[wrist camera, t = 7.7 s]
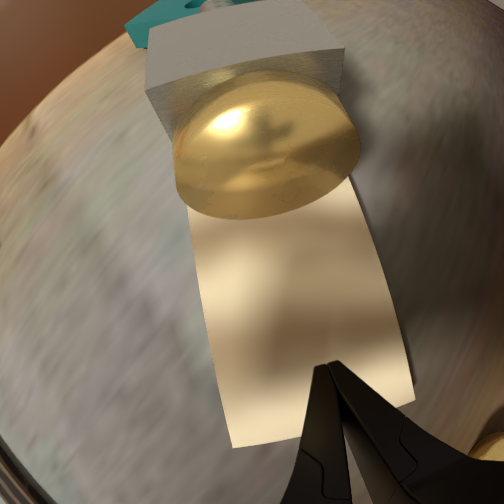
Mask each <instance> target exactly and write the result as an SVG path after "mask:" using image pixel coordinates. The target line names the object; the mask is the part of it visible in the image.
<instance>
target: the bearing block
mask: <svg viewBox="0 0 504 504" xmlns="http://www.w3.org/2000/svg"><path fill="white" fill-rule="evenodd" d="M344 51H345V48H344V47H343V45H342V44H341V43H340V42H339V41H338V39H337V38H336V37H335V36H334V35H333V34H332V32H331V31H330V30H329V29H328V28H327V27H326V26H325V25H324V23H323V22H322V21H321V20H320V19H319V18H318V17H317V16H316V15H315V14H314V13H313V12H312V11H311V10H310V9H309V8H308V7H307V6H306V4H305V3H304V2H303V1H302V0H262V1H256V2H249V3H244V4H238V5H233V6H228V7H223V8H219V9H214V10H210V11H206V12H202V13H198V14H194V15H191V16H187V17H184V18H180V19H177V20H174V21H171V22H167V23H164V24H161V25H158V26H155V27H153V28H150V29H149V38H148V48H147V60H146V74H145V92H146V94H147V96H148V98H149V100H150V102H151V104H152V106H153V108H154V110H155V111H156V113H157V115H158V117H159V119H160V121H161V123H162V125H163V127H164V128H165V130H166V132H167V134H168V136H169V138H170V140H171V142H172V140H173V135H174V131H175V128H176V126H177V123H178V121H179V120H180V118H181V116H182V115H183V113H184V112H185V111H186V110H187V108H188V107H189V106H190V105H191V104H192V103H193V102H194V101H195V100H196V99H197V98H198V97H199V96H201V95H202V94H204V93H205V92H206V91H208V90H209V89H211V88H213V87H214V86H216V85H218V84H220V83H222V82H224V81H226V80H229V79H231V78H234V77H237V76H240V75H244V74H248V73H252V72H259V71H268V70H282V71H292V72H297V73H301V74H305V75H308V76H310V77H313V78H315V79H317V80H319V81H321V82H322V83H324V84H325V85H326V86H328V87H329V88H330V89H331V90H332V91H333V92H334V93H335V94H336V96H337V97H338V99H339V94H340V86H341V78H342V69H343V60H344Z"/></svg>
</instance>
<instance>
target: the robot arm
mask: <svg viewBox="0 0 504 504" xmlns="http://www.w3.org/2000/svg"><path fill="white" fill-rule="evenodd" d="M344 434H345V437H346V439H347V441H348V444H349V446H350V449H351V451H352V453H353V456H354V458H355V461H356V463H357V465H358V468H359V470H360V473H361V475H362V477H363V480H364V482H365V485H366V487H367V490H368V492H369V495H370V497H371V499H372V502H373V504H504V461H494V460H481V459H475V458H472V457H469V456H467V455H465V454H463V453H461V452H460V451H458V450H456V449H454V448H453V447H451V446H449V445H447V444H446V443H444V442H442V441H440V440H439V439H437V438H435V437H434V436H432V435H431V434H429V433H428V432H426V431H424V430H423V429H422V428H420V427H419V426H418V425H416V424H415V423H414V422H413V421H411V420H410V419H409V418H408V417H405V415H404V414H403V413H402V412H400V411H399V410H398V409H397V408H395V407H394V406H393V405H392V404H391V403H389V402H388V401H387V400H386V399H385V398H383V397H382V396H381V395H380V394H379V393H377V392H376V391H375V390H374V389H373V388H371V387H370V386H369V385H368V384H367V383H365V382H364V381H363V380H362V379H361V378H359V377H358V376H357V375H356V374H355V373H354V372H352V371H351V370H350V369H349V368H348V367H346V366H345V365H344V364H343V363H342V362H341V361H339V360H334V361H331V362H328V363H327V364H325V363H324V364H320V365H316V366H314V368H313V374H312V380H311V386H310V392H309V398H308V404H307V409H306V414H305V420H304V425H303V430H302V435H301V440H300V445H299V450H298V453H297V458H296V462H295V465H294V469H293V473H292V475H291V478H290V481H289V484H288V486H287V489H286V491H285V493H284V496H283V498H282V500H281V502H280V504H352V495H351V486H350V477H349V469H348V461H347V453H346V446H345V439H344Z"/></svg>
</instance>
